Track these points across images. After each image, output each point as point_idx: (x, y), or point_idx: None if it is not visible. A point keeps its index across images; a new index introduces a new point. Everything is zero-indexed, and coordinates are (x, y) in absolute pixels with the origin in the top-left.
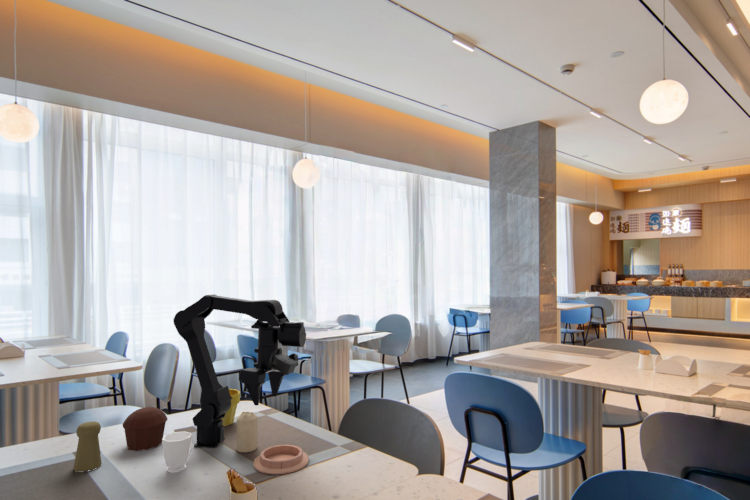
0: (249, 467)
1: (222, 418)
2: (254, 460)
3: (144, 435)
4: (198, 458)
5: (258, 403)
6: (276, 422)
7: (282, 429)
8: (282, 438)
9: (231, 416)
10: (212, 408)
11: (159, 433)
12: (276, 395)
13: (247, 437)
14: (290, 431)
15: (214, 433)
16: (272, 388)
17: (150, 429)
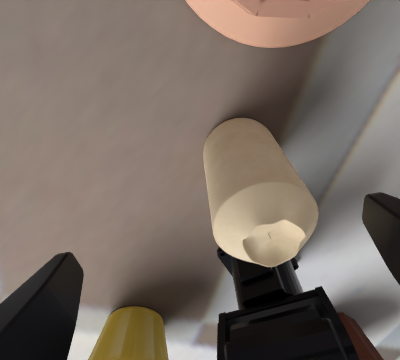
0: (380, 5)
1: (152, 329)
2: (340, 23)
3: (368, 347)
4: (354, 207)
5: (382, 199)
6: (8, 236)
7: (28, 178)
8: (86, 113)
9: (124, 326)
10: (354, 350)
11: None
12: (59, 256)
13: (279, 149)
14: (13, 140)
15: (277, 265)
16: (59, 344)
17: (367, 358)
